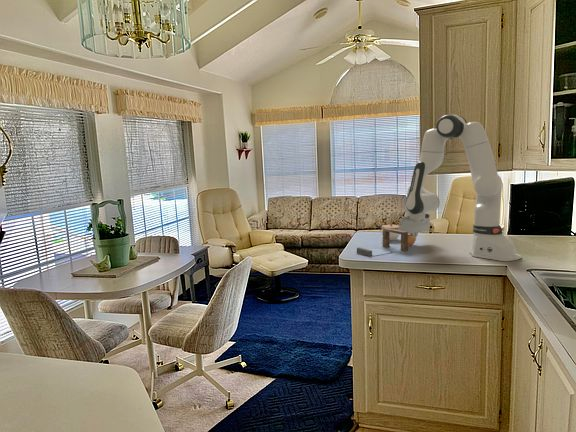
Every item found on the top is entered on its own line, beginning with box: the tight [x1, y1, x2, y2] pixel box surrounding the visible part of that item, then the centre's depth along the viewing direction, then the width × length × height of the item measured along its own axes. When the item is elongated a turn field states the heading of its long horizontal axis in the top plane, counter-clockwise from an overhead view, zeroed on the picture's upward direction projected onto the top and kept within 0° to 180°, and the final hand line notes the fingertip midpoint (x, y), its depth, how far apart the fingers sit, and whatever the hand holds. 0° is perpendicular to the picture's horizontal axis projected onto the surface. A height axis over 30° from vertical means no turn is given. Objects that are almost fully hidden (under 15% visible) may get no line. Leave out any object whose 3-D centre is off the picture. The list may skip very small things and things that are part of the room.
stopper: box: [356, 247, 372, 257], centre depth 216 cm, size 9×2×2 cm, turn 32°
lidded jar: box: [381, 223, 401, 241], centre depth 249 cm, size 11×11×9 cm
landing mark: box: [368, 248, 393, 257], centre depth 220 cm, size 12×12×1 cm
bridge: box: [382, 228, 409, 252], centre depth 226 cm, size 3×15×10 cm, turn 32°
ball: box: [408, 234, 416, 247], centre depth 232 cm, size 6×6×6 cm
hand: (413, 240), depth 235 cm, fingers closed
